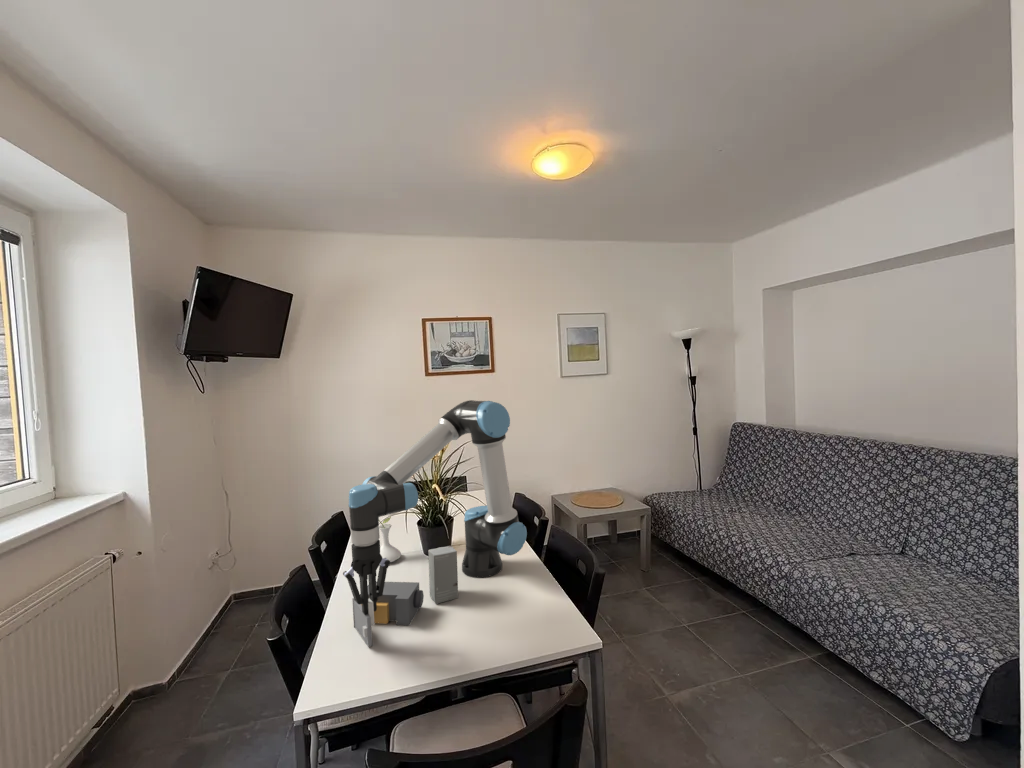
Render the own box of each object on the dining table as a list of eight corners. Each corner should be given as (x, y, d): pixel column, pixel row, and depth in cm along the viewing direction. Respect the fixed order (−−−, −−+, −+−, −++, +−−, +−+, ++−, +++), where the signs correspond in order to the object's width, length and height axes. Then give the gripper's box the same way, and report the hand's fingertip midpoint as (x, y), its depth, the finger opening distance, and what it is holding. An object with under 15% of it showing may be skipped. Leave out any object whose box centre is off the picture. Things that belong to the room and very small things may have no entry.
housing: (425, 607, 141) (423, 580, 140) (412, 629, 129) (410, 600, 128) (370, 605, 143) (369, 579, 143) (353, 627, 131) (351, 598, 131)
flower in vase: (405, 554, 182) (402, 494, 181) (395, 566, 171) (392, 502, 170) (374, 553, 184) (371, 494, 183) (363, 566, 172) (359, 503, 171)
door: (352, 628, 130) (350, 601, 130) (358, 625, 131) (357, 599, 131) (365, 648, 120) (364, 619, 120) (372, 645, 121) (370, 617, 121)
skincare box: (435, 605, 142) (433, 556, 141) (428, 595, 148) (426, 549, 147) (460, 598, 146) (457, 550, 145) (452, 588, 152) (450, 543, 151)
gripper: (381, 531, 130) (386, 609, 131) (337, 544, 121) (342, 627, 123) (393, 538, 124) (397, 619, 125) (347, 552, 116) (352, 639, 117)
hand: (370, 623), depth 124 cm, fingers closed
